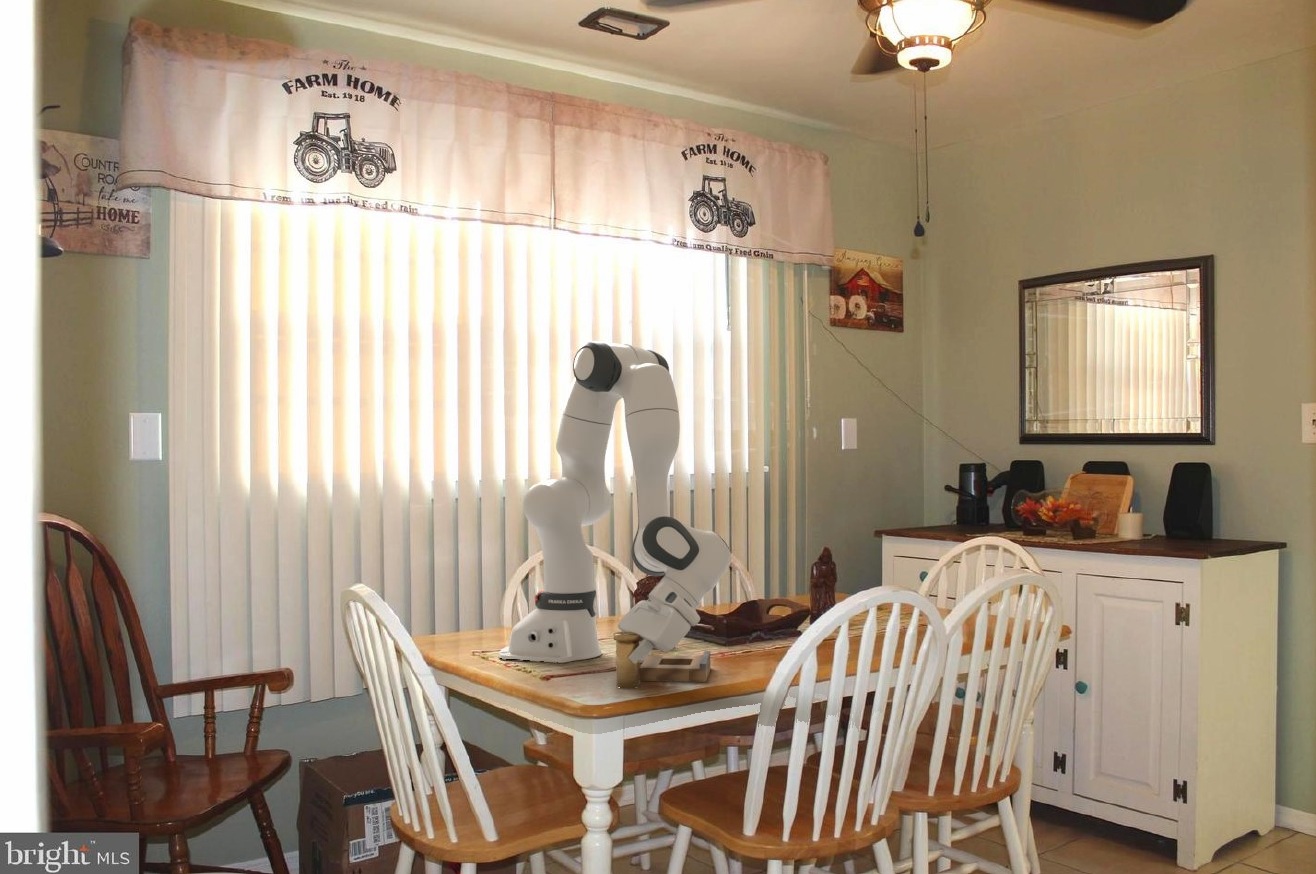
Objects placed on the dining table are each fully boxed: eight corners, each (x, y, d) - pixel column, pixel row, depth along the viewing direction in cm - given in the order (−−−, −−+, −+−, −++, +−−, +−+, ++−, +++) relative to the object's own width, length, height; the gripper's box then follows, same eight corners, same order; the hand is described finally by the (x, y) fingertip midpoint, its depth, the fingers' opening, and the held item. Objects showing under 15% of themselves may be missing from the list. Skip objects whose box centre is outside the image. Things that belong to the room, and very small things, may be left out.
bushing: (611, 689, 195) (611, 635, 195) (616, 682, 200) (616, 631, 200) (640, 689, 194) (639, 636, 194) (643, 683, 199) (643, 631, 199)
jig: (639, 680, 202) (639, 662, 202) (648, 667, 215) (647, 650, 215) (705, 681, 200) (705, 663, 200) (710, 668, 213) (710, 651, 213)
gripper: (639, 586, 210) (594, 638, 205) (682, 599, 191) (634, 656, 187) (659, 607, 211) (615, 659, 207) (704, 621, 193) (657, 679, 188)
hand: (624, 658), depth 197 cm, fingers closed on bushing, 4 cm apart
